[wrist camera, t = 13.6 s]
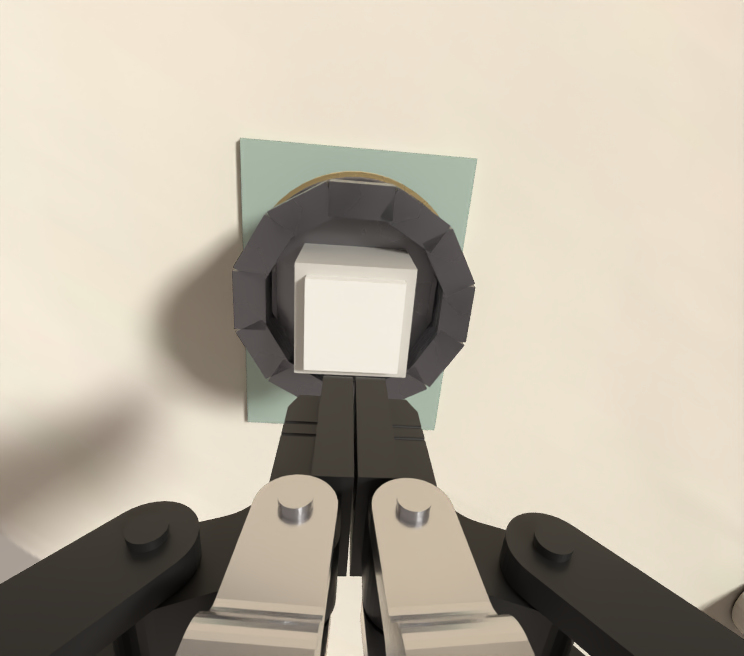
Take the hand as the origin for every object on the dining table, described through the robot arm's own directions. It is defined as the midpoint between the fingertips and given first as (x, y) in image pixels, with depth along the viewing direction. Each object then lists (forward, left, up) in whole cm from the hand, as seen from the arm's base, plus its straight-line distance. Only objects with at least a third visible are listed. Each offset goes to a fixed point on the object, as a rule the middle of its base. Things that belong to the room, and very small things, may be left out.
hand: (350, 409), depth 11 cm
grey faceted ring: (0, 0, -17) cm, 17 cm away
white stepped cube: (0, 0, -9) cm, 9 cm away
